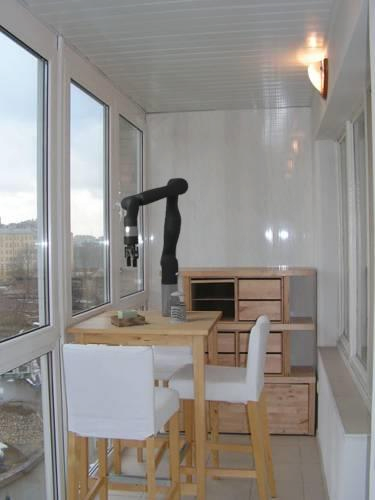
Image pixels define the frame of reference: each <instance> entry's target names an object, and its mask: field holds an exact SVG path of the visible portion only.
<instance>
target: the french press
mask: <svg viewBox="0 0 375 500" xmlns="http://www.w3.org/2000/svg"><path fill="white" fill-rule="evenodd" d="M176 275H178V276H179V275H180V272H179V271H178V272H177V273H176ZM171 296H178V302H172V304H180V305H171V316H170V320H169V323H171V324H183V323H188V322H189V320H188V319H187V304H186V302H185V301H180V302H179V298H180V297H186V296H187V294H186V293H185V292H183V291H179V290H178V291H177V292H174V293H172V294H171ZM168 299H169V298H168ZM168 299H167V300H168ZM167 300H166V302H165V307H167V304H166V303H167ZM170 300H172V298H171V297H170ZM166 309H168V308H166ZM176 309H178V310H176ZM168 310H169V309H168ZM174 311H175V312H174ZM169 312H170V310H169ZM176 312H179V313H176ZM176 314H178V315H176Z"/></svg>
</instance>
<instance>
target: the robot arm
mask: <svg viewBox="0 0 375 500" xmlns="http://www.w3.org/2000/svg"><path fill="white" fill-rule="evenodd" d="M188 189H189V183H188V181H187V180H186V179H185V178H183V177H176V178H175V177H174V178H170V179H168V180H167V183H166V185H163V186H160V187H159V186H158V187H155V188H151V189H150V188H149V189H147V190H144V191H141V192H139V193H136V194H131V195H128V196H126V197H124V198H122V199H121V202H120V206H121V207H120V208H122V209H123V210H125V211H126V215H124V216H123V245H125V246H124V259H126V267H131V266H132V267H133V268H137V267H138V259H139V258H140V254H139V246H136V245H139V228H138V218H139V217H138V216H139V212H140V207H143V206H147V205H151V204H152V203H155V202H158V201H160V200H164V199H166V201H165V215H164V221H163V222H164V225H163V246H162V251H161V257H160V261H159V264H160V265H159V266H160V267H161V279H160V283H161V288H160V289H161V316H163V317H171V305H181V304H172V302H178V296H171V294H172V293H174V292H177V291H179V275H176V273H177V272H178V273H179V260H178V258H177V246H178V245H177V244H178V242H179V238H180V235H181V230H182V217H181V213H180V212H181V211H180V208H179V196H182V195H185V194H186V193H187V191H188ZM170 297H171V298H172V300H170ZM168 298H169V299H168ZM167 299H168V300H167ZM166 300H167V303H166V304H167V307H165V302H166ZM179 302H181V298H180V297H179ZM166 308H168V309H169V310H170V312H169V310H168V309H166ZM176 310H178V309H176ZM174 312H175V311H174ZM176 313H179V312H176ZM176 315H178V314H176Z"/></svg>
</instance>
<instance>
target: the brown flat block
mask: <svg viewBox="0 0 375 500" xmlns="http://www.w3.org/2000/svg"><path fill="white" fill-rule="evenodd" d="M144 324H145V325H146V317H145V315H142V314H138V313H137V317H132V318H122V319H120V318H118V314H117V315H110V325H113V326H115V327H118V328H124V327H125V326H126V327H134V326H135V325H136V326H144ZM126 327H125V328H126Z"/></svg>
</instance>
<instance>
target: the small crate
mask: <svg viewBox="0 0 375 500" xmlns="http://www.w3.org/2000/svg"><path fill="white" fill-rule="evenodd" d="M137 314H138V310H135V309H125V310H117V315H118V318H120V319H122V318H132V317H137Z"/></svg>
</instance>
